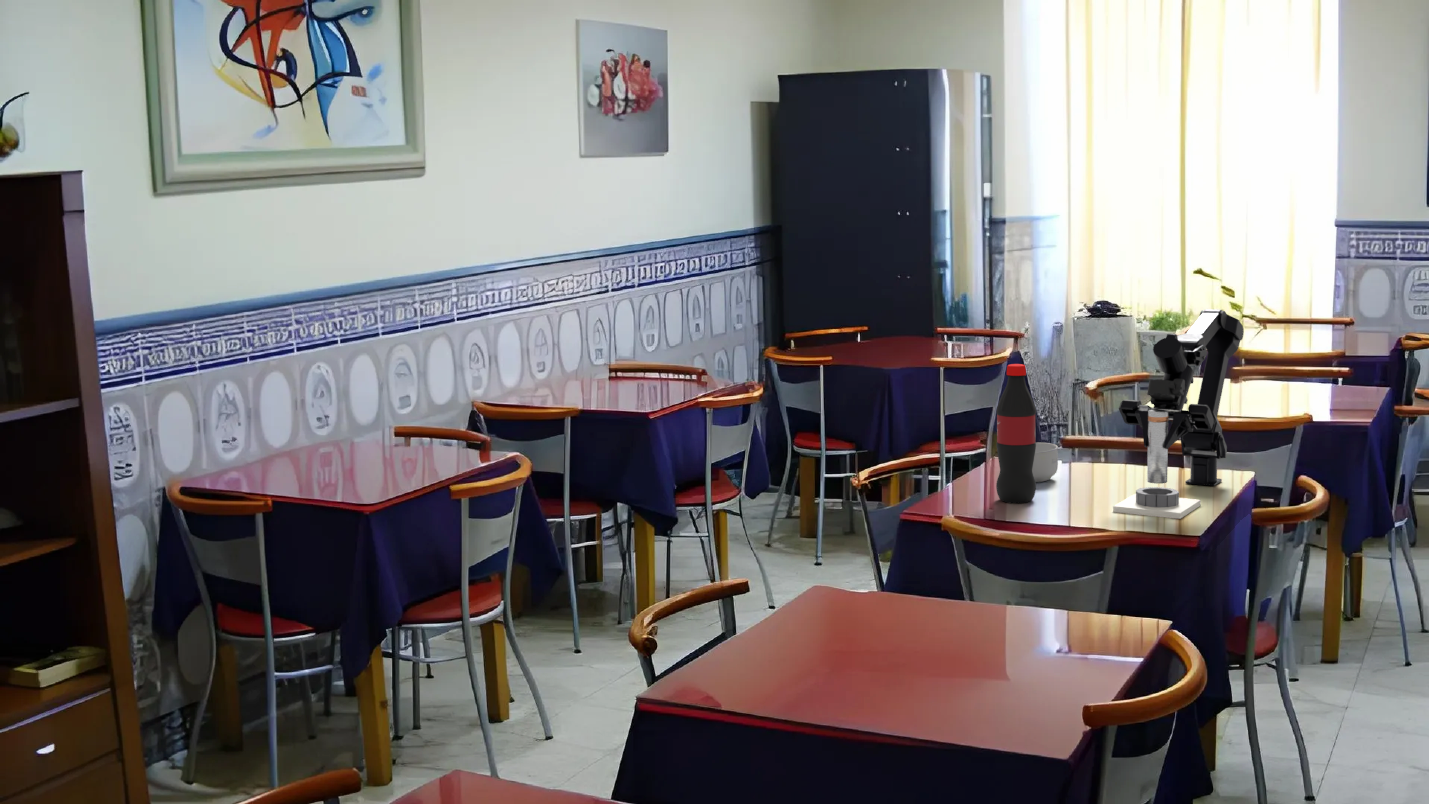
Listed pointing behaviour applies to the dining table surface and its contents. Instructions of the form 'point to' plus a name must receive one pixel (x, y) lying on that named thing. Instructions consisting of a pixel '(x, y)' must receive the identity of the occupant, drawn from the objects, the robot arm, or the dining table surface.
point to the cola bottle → (1016, 439)
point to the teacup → (1045, 461)
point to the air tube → (1157, 446)
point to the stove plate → (1157, 511)
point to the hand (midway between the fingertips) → (1155, 447)
